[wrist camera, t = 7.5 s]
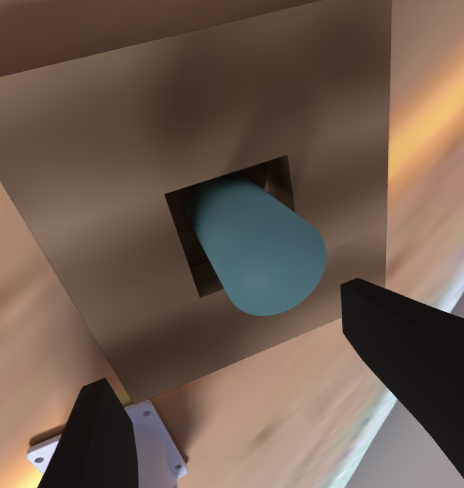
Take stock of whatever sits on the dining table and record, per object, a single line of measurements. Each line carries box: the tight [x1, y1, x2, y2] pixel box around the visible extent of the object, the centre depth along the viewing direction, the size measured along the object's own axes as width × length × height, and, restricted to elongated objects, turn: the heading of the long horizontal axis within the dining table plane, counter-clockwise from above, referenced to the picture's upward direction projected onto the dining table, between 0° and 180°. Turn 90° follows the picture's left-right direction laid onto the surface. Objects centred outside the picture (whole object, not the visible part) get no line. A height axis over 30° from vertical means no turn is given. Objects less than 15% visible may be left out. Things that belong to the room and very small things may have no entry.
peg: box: [187, 171, 327, 316], centre depth 15 cm, size 4×4×7 cm
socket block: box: [0, 0, 392, 405], centre depth 17 cm, size 16×16×3 cm
